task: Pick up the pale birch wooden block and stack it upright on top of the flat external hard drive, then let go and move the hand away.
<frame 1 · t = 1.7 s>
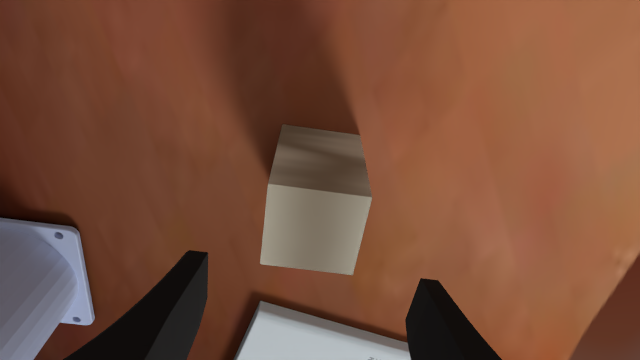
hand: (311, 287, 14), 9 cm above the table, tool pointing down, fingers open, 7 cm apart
external hard drive: (324, 352, 30), on the table
birch block: (315, 164, 22), on the table
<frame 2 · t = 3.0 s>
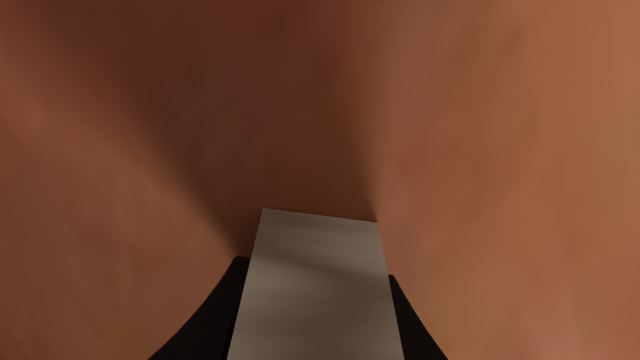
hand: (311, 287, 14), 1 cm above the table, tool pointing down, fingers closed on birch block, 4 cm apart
birch block: (312, 259, 15), on the table, touching gripper
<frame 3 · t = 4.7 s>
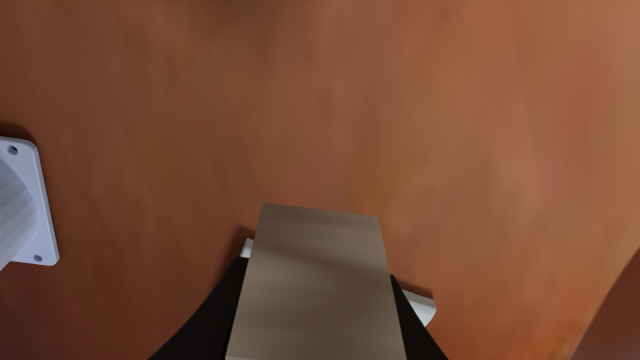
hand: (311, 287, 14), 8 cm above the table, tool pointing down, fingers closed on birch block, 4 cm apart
external hard drive: (318, 305, 27), on the table
birch block: (313, 254, 15), point 7 cm above the table, touching gripper
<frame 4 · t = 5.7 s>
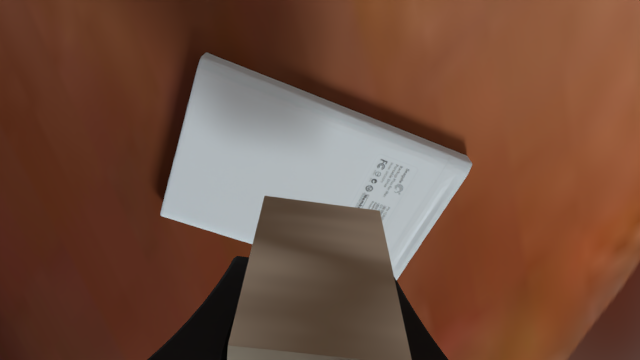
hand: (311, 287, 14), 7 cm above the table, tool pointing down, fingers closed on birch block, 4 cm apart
external hard drive: (311, 174, 20), on the table
birch block: (314, 248, 15), point 5 cm above the table, touching gripper
when the fingers open (5 cm above the table, at t = 6.4 s): birch block drops 2 cm, point 1 cm above the table.
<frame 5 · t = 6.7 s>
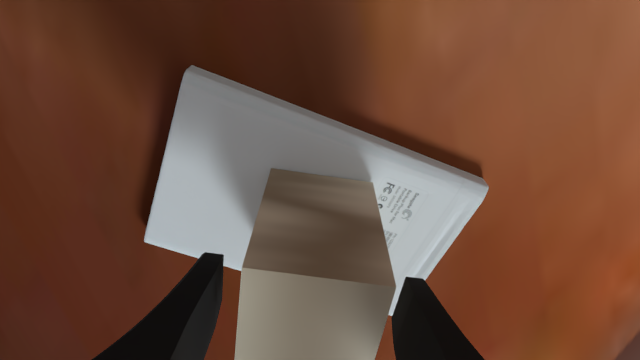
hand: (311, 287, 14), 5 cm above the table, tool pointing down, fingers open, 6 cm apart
external hard drive: (310, 196, 18), on the table
birch block: (314, 218, 17), point 1 cm above the table
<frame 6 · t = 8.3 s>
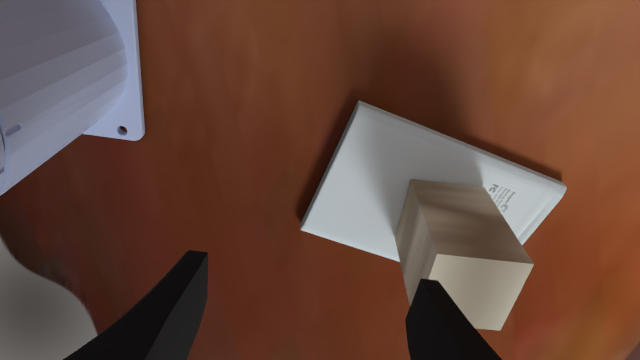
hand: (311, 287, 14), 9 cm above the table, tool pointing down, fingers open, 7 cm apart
external hard drive: (423, 194, 24), on the table, touching birch block
birch block: (437, 214, 22), point 1 cm above the table, touching external hard drive
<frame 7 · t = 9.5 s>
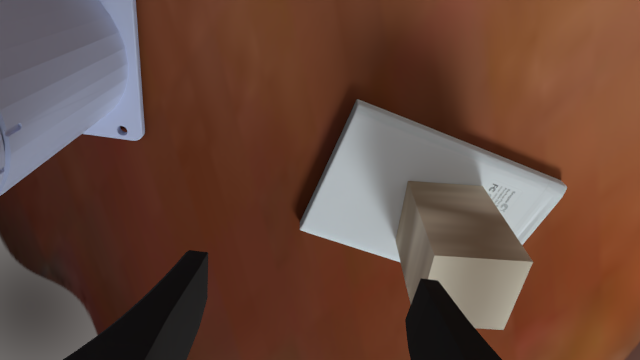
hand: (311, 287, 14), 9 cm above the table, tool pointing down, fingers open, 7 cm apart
external hard drive: (423, 194, 24), on the table, touching birch block
birch block: (437, 214, 22), point 1 cm above the table, touching external hard drive
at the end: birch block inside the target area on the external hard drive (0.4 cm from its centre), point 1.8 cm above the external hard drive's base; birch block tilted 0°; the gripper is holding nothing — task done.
